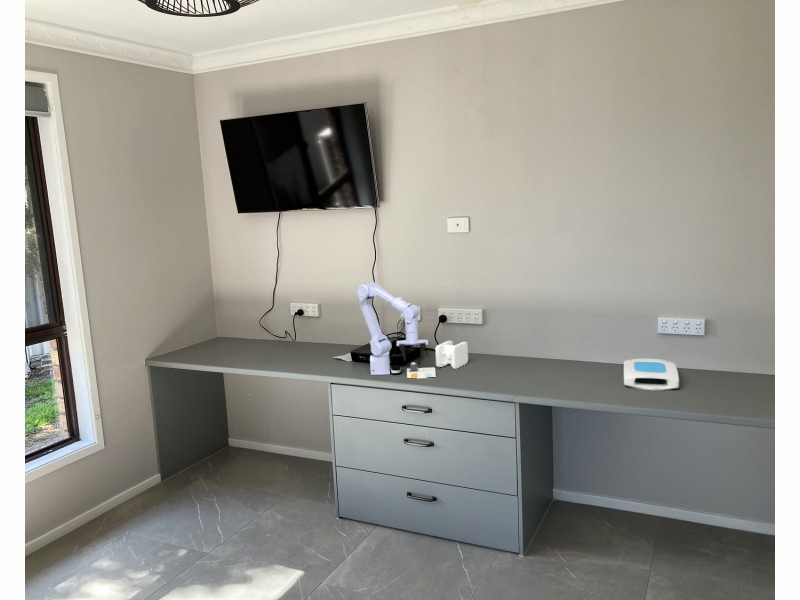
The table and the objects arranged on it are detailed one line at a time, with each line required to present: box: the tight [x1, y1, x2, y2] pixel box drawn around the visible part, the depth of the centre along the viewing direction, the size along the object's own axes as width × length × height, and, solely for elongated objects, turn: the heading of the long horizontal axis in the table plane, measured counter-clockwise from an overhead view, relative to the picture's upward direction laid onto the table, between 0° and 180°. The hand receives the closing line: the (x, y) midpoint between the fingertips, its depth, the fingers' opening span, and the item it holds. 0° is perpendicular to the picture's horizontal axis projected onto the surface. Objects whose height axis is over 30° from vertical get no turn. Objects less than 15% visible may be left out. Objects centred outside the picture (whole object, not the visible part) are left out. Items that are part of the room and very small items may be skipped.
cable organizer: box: [434, 340, 469, 370], centre depth 308 cm, size 15×11×12 cm
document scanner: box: [623, 357, 680, 391], centre depth 271 cm, size 21×28×6 cm
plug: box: [409, 361, 418, 372], centre depth 295 cm, size 3×3×7 cm
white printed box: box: [406, 367, 437, 379], centre depth 295 cm, size 13×7×3 cm, turn 89°
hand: (413, 359), depth 294 cm, fingers open, 7 cm apart
